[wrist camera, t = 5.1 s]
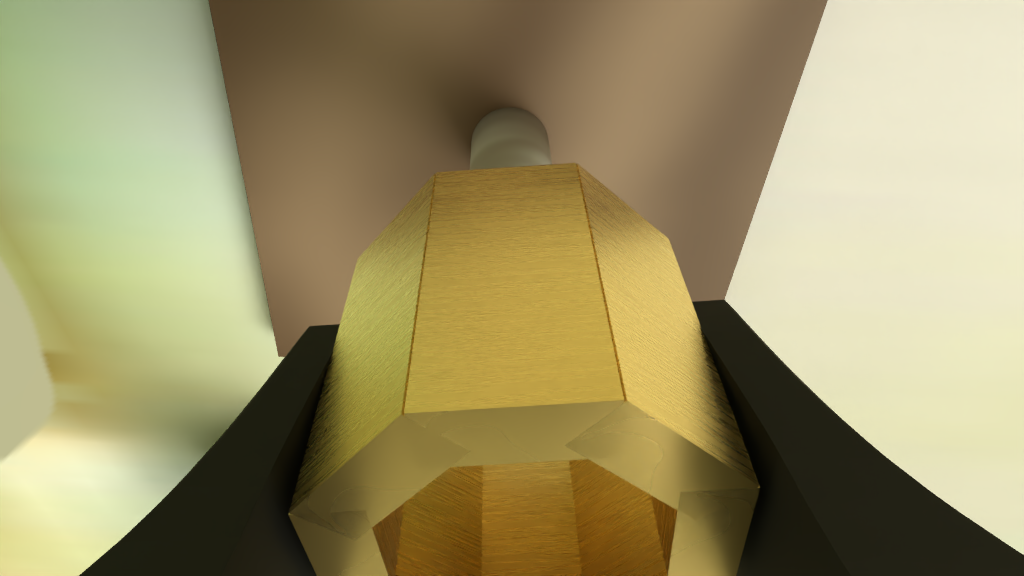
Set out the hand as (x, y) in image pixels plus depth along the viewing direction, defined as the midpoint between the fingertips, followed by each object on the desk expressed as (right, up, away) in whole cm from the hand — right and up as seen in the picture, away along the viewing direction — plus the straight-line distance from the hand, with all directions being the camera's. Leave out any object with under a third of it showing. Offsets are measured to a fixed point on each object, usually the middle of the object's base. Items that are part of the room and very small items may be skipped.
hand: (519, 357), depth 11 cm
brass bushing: (0, +1, +1) cm, 1 cm away
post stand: (0, +6, +7) cm, 9 cm away
